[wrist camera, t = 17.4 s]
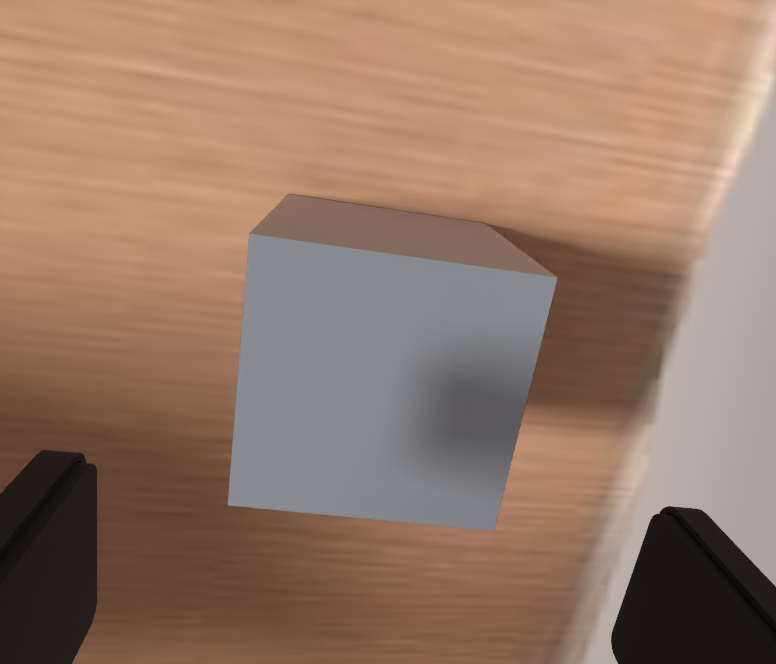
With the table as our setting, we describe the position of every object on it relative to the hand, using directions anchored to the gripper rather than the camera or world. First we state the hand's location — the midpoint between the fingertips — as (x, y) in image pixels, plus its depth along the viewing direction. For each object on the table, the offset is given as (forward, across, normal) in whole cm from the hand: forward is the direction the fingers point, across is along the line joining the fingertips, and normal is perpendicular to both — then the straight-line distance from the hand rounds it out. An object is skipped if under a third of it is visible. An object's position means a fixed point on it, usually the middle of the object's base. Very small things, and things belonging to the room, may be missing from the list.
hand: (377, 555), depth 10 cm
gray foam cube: (+15, -1, 0) cm, 15 cm away
